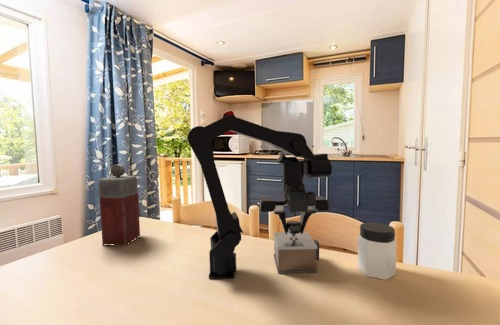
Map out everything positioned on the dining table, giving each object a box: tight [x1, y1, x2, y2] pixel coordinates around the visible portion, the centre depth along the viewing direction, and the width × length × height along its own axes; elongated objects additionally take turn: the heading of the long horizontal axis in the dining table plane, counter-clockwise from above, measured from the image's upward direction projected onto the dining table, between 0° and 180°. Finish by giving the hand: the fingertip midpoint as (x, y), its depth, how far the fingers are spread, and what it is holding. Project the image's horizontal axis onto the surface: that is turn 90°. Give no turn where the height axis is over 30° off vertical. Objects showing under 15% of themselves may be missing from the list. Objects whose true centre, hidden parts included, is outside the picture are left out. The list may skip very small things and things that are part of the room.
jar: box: [357, 221, 397, 281], centre depth 64 cm, size 9×8×12 cm
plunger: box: [286, 220, 301, 240], centre depth 69 cm, size 8×8×11 cm
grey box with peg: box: [273, 231, 320, 274], centre depth 70 cm, size 12×10×7 cm
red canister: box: [98, 163, 141, 246], centre depth 89 cm, size 9×11×28 cm
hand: (293, 233), depth 69 cm, fingers closed on plunger, 4 cm apart
